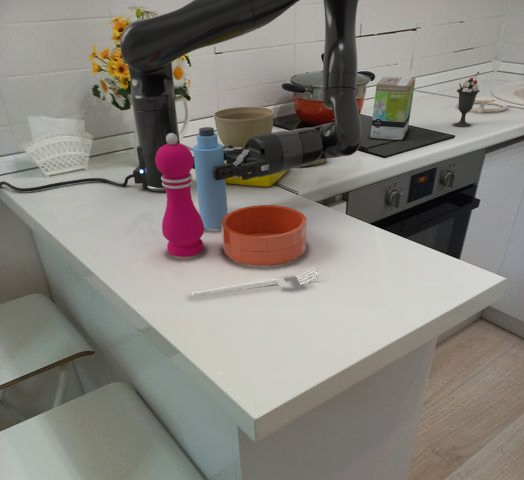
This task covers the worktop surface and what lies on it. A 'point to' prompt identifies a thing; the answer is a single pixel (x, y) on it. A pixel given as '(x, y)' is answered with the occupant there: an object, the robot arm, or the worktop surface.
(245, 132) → the planter bowl
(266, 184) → the element tile
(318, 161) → the pastry
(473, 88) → the sundae
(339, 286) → the worktop surface
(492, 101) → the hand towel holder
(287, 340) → the worktop surface
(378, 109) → the tea box
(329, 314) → the worktop surface
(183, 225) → the pepper mill
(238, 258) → the pot
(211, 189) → the bottle
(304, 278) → the fork
